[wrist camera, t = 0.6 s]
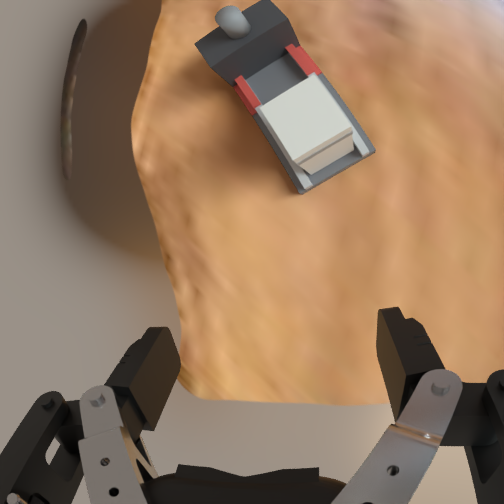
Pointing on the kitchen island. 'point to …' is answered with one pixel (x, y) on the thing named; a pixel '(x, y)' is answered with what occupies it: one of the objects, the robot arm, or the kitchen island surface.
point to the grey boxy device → (272, 77)
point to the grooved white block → (310, 125)
